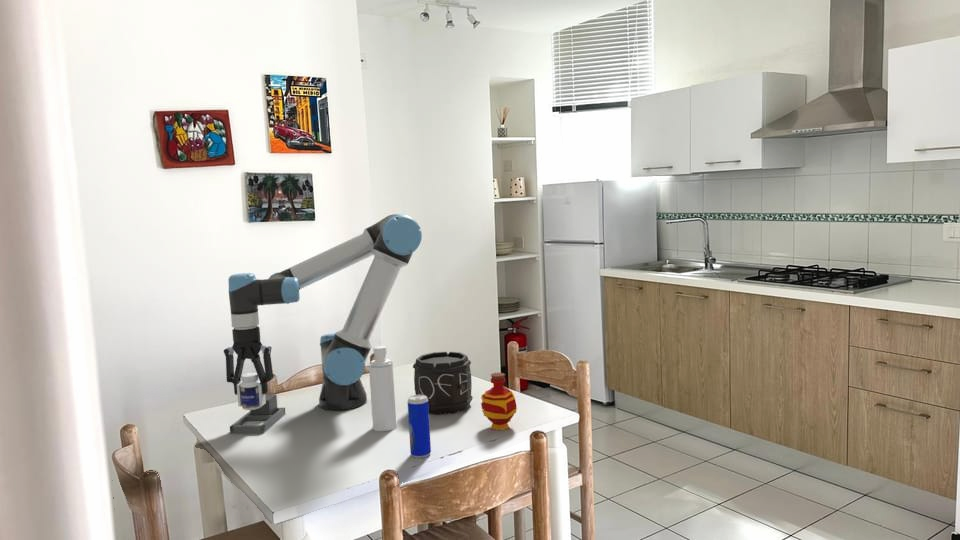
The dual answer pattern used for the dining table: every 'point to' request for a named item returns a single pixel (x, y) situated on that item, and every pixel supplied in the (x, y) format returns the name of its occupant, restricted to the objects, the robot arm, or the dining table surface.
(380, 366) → the spray bottle
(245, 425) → the gray tray with block
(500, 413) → the potion bottle
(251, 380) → the pill bottle
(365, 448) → the dining table surface
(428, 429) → the beverage can
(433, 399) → the wooden barrel
